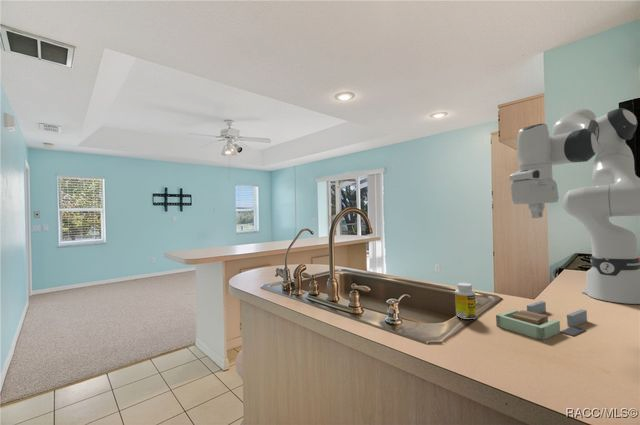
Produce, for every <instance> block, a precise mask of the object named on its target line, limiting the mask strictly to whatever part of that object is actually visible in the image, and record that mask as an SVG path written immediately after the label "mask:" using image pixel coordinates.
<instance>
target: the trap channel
mask: <svg viewBox="0 0 640 425" xmlns="http://www.w3.org/2000/svg"><path fill="white" fill-rule="evenodd" d="M526 311H529V312H534V313H538V314H544V313H545V312H547V306H546V301H543V300H540V301H536V302H533V303H530V304H527V305H526ZM517 312H519V310H517V309H511V310H508V311H505V312H502V313H498V314H496V315H495V321H496V322H495V323H496V327H499V328H502V329H505V330H508V331H511V332H515V333H518V334H521V335H525V336H528V337H530V338H534V339H537V340H540V341H543V340H546V339H549V338H551V337H553V335H554V336H556V335H558V334H563V333H565V334H564V335H567V334H569V335H568V336H570V335H573V336H572V337H575V336H577V335H579V333H580V334H581V332H582V333H584V332H586V331H587V330H586V328H582V327H579V325H581V324H584V323H586V322H588V316H587V315H588V313H587V309H583V308H582V309H581V308H580V309H578V310H576V311H573V312H571V313H568V314H566V320H567V321H566V322H567V323H566V324H567V328H566V329H563V330H561V324H560V320H558V319H552V320H550V321H549V320H548V322H547V323H544V324H542V325H535V324H531V323H528V322H524V321H521V320H517V319H513V318H512V314H514V313H517ZM577 326H578V327H577ZM560 332H561V333H560ZM576 334H577V335H576ZM574 335H575V336H574Z"/></svg>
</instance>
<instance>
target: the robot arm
mask: <svg viewBox="0 0 640 425" xmlns="http://www.w3.org/2000/svg"><path fill="white" fill-rule="evenodd" d="M637 127H638V120H637V116H636V115H635V114H634V113H633V112H631V111H630V110H628V109H626V108H624V107H623V108H622V107H619V108H615V109H613V110H610V111H608V112H607V113H606V114H604V115H601V116H599V117H596V115H595V113H594V112H593V111H592V110H590V109H587V108H579V109H575V110H572V111H570V112H568V113H566V114H564V115H563V116H562V117H560V118H559V119H558V120H557V121H556V122H555V123H554V125H553V126H552V130H551V136H550V131H549V128H548V125H547V124H546V123H537V124H534V125H529V126H526V127H523V128H521V129H519V130H518V133H517V140H516V143H517V144H516V156H517V157H518V166H517V171H515V172H513V173H511V174H510V175H509V181H510V182H511V186H510V192H511V200H512V202H513V204H514V205H528V209H529V210H530V213H531V218H532V219H540V218H541V219H542V218H543V216H544V214H543V212H544V211H545V208H546V206H545V205H546V204H553V203H554V204H555V203H558V201H559V198H560V197H559V189H558V185H557V181H556V180H554V177H553V166H556V165H557V166H558V165H564V164H572V163H584V162H585V163H586V162H588V161H590V160H591V159H593V157H594V156H595V157H594V160H593V166H592V174H591V180H592V183H593V184H594V185H591V186H583V187H582V186H581V187H578V188H574V189H570V190H568V191H567V192H566V193H565V194H564V196H563V199H562V206H563V209H564V211H565V212H566V213H567V214H568V215H569V216H572V217H574V218H575V219H577V220H578V221H579V222H581V224H582V225H583V226H584V227H585V229H586V230H587V231H588V234H589V239H590V243H591V245H590V246H591V254H592V255H591V256H590V260H589V261H590V265H591V267H590V269H588V270H587V271H586V287H585V288H582V290H581V293H583V294H585V295H588V296H589V297H590V298H593V299H596V300H601V301H606V302H609V303H610V302H611V303H618V304H630V305H631V304H633V305H637V304H638V305H640V256H638V242H637V236H636V235H635V233H634V232H633V231H631V230H629V229H628V228H625V227H622V226H619V225H616V224H614V223H612V222H611V221H610V220H609V218H610V217H611V218H612V217H640V177H639V176H637V175H636V170H635V158H634V154H633V151H632V149H631V148H630V146H629V145H628V144H627V143H626V141H627V140H629V141H630V140H632V138H634V133H635V132H636V131H637Z"/></svg>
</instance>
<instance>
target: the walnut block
mask: <svg viewBox="0 0 640 425" xmlns="http://www.w3.org/2000/svg"><path fill="white" fill-rule="evenodd" d="M548 316H549V315H546V314H544V313H540V314H538V313H534V312H529V311H527V310H525V309H522V310H518V312H517V313H514V314H512V318H513V319H517V320H521V321H524V322H528V323H531V324H535V325H542V324H544V323H547V322H549V317H548Z"/></svg>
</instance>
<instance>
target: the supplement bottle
mask: <svg viewBox="0 0 640 425" xmlns="http://www.w3.org/2000/svg"><path fill="white" fill-rule="evenodd" d="M456 288H457V289H455V291H454V299H455V302H454V303H455V316H456V317H457V316H458V317H461V318H472V319H474V320H476V318H477V309H476V308H477V307H476V306H477V305H476V292H475V291H474V290H473V286H472V284H471V283H469V282H468V283H467V282H458V283H457V287H456ZM458 317H457V318H458Z"/></svg>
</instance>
